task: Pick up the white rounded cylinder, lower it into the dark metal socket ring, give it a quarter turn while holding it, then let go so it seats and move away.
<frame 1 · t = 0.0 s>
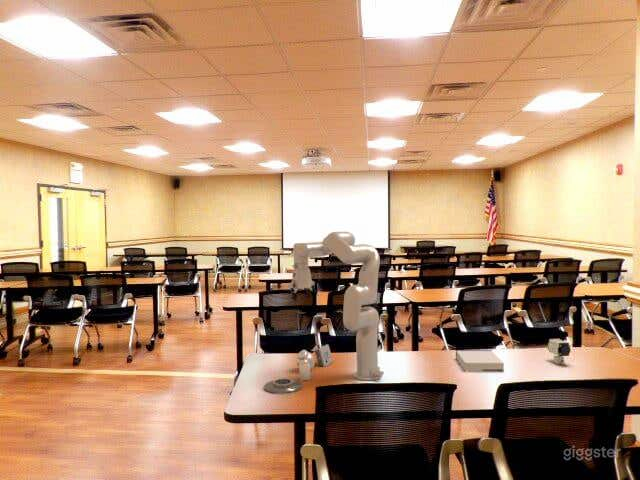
hand: (301, 299, 248), 31 cm above the table, tool pointing down, fingers open, 9 cm apart
security camera: (558, 363, 228), on the table
white rounded cylinder: (304, 379, 214), on the table
socket: (283, 387, 203), on the table
electrical switch: (324, 364, 237), on the table
disc drive: (478, 366, 229), on the table
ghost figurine: (305, 370, 227), on the table
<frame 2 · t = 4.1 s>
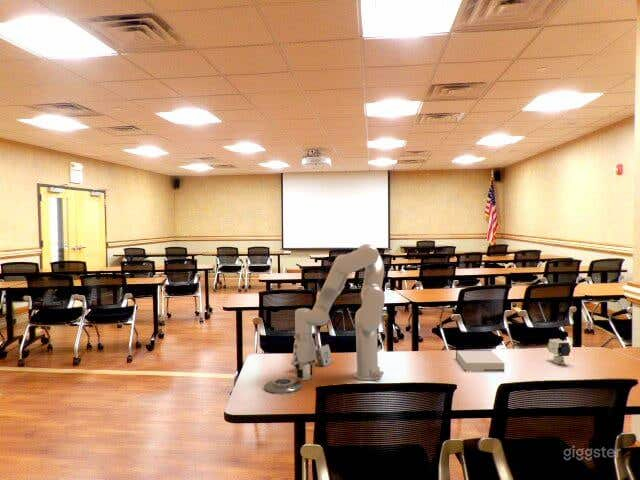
hand: (304, 375, 214), 1 cm above the table, tool pointing down, fingers closed on white rounded cylinder, 5 cm apart
white rounded cylinder: (304, 379, 214), on the table, touching gripper
everything else where it was.
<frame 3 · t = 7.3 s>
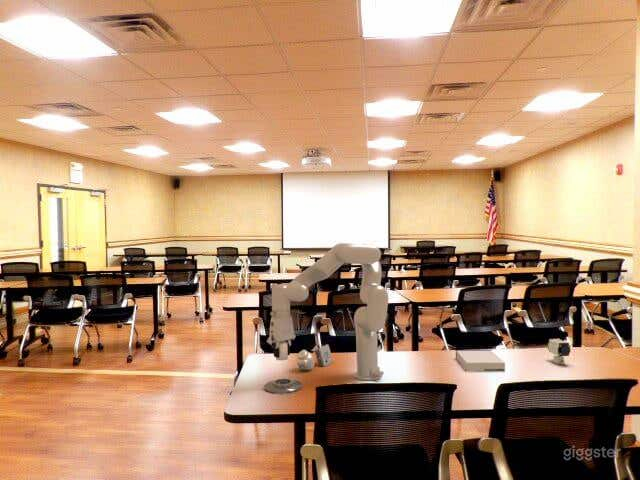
hand: (281, 355, 203), 14 cm above the table, tool pointing down, fingers closed on white rounded cylinder, 5 cm apart
white rounded cylinder: (281, 358, 203), point 12 cm above the table, touching gripper
everything else where it was.
when the fingers open (4 cm above the table, at t = 10.5 s): white rounded cylinder drops 1 cm, resting on socket.
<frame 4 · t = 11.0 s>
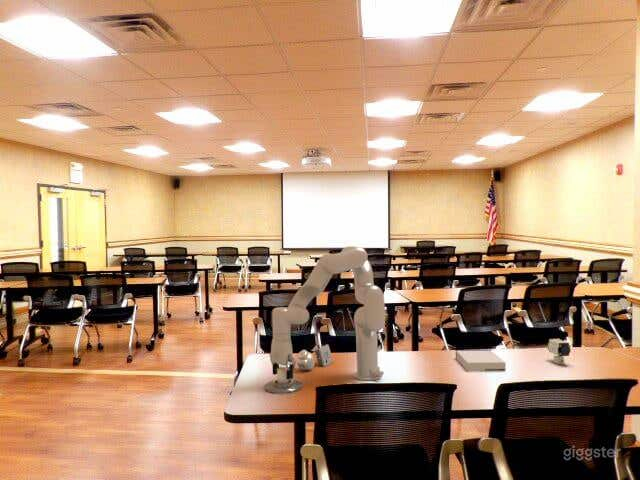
hand: (282, 376, 203), 5 cm above the table, tool pointing down, fingers open, 9 cm apart
white rounded cylinder: (283, 385, 203), point 1 cm above the table, touching socket
everything else where it was.
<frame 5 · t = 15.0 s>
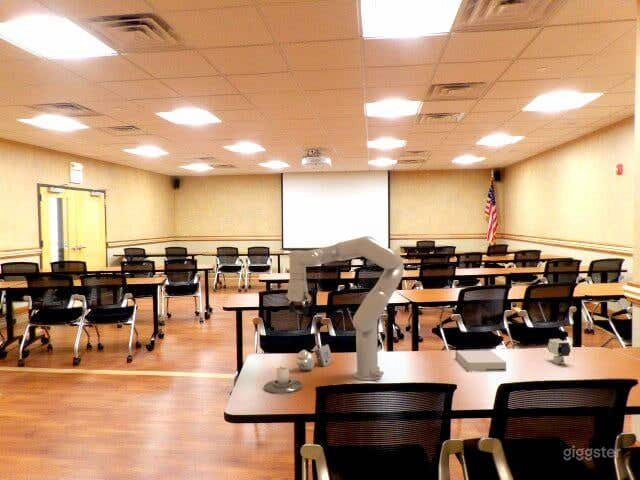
hand: (298, 313, 222), 28 cm above the table, tool pointing down, fingers open, 9 cm apart
at the end: white rounded cylinder 0.2 cm from the socket (horizontally); white rounded cylinder tilted 0°; white rounded cylinder point 1.0 cm above the table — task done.
